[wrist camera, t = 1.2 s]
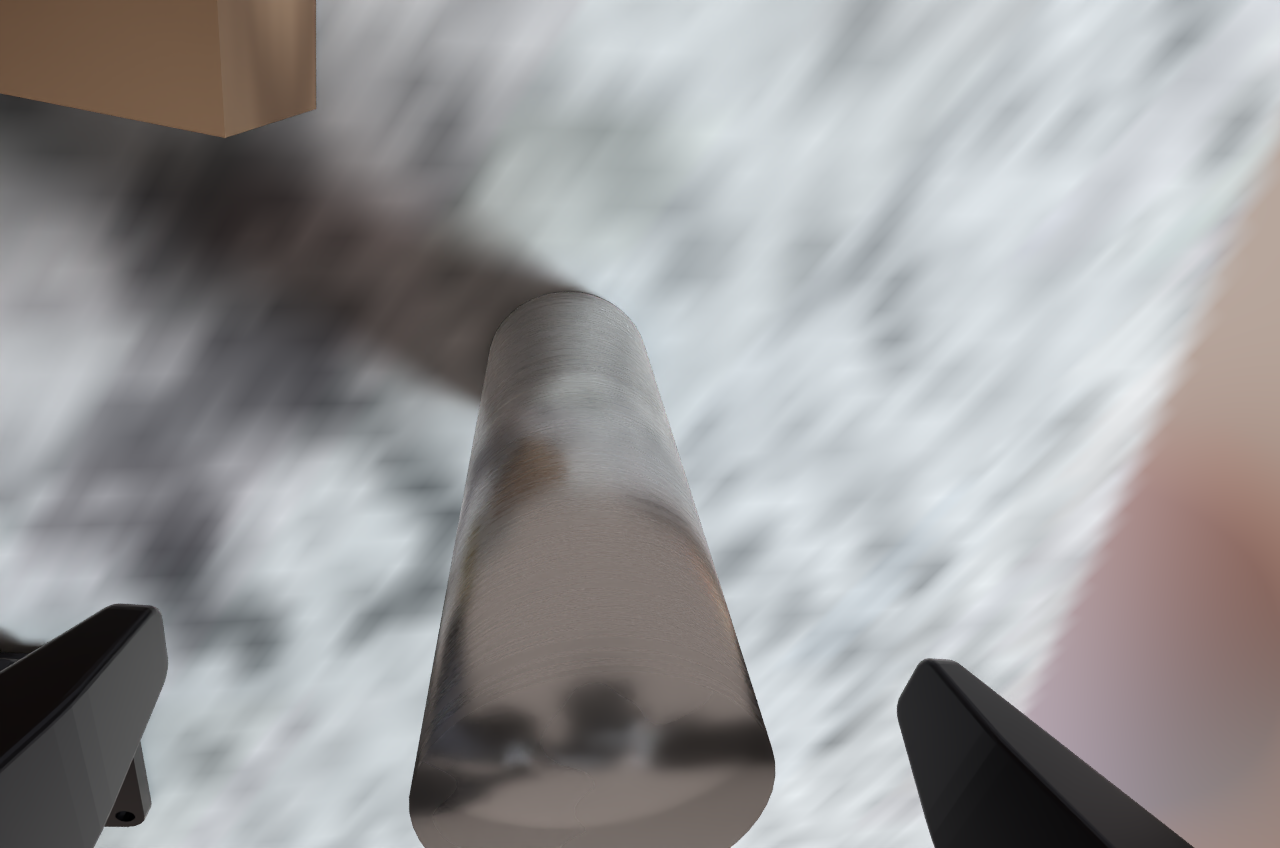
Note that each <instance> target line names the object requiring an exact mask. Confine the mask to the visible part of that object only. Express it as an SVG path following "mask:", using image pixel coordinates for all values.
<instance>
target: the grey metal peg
mask: <svg viewBox="0 0 1280 848" xmlns="http://www.w3.org/2000/svg"><path fill="white" fill-rule="evenodd" d="M774 780H775V760H774V755H773V751H772V747H771V744H770V741H769V737H768V734H767V731H766V728H765V725H764V722H763V718H762V715H761V712H760V709H759V706H758V703H757V700H756V696H755V693H754V690H753V687H752V684H751V681H750V677H749V674H748V671H747V668H746V665H745V662H744V658H743V655H742V652H741V649H740V646H739V643H738V639H737V636H736V633H735V630H734V627H733V624H732V620H731V617H730V614H729V611H728V608H727V605H726V602H725V598H724V595H723V592H722V589H721V586H720V583H719V579H718V576H717V573H716V570H715V567H714V564H713V560H712V557H711V554H710V551H709V548H708V545H707V541H706V538H705V535H704V532H703V529H702V526H701V522H700V519H699V516H698V513H697V510H696V507H695V503H694V500H693V497H692V494H691V491H690V488H689V485H688V481H687V478H686V475H685V472H684V469H683V466H682V462H681V459H680V456H679V453H678V450H677V447H676V443H675V440H674V437H673V434H672V431H671V428H670V424H669V421H668V418H667V415H666V412H665V409H664V405H663V402H662V399H661V396H660V393H659V390H658V387H657V383H656V380H655V377H654V374H653V371H652V368H651V364H650V361H649V358H648V355H647V352H646V349H645V345H644V342H643V340H642V337H641V335H640V333H639V331H638V330H637V328H636V326H635V325H634V323H633V322H632V321H631V320H630V318H629V317H628V316H627V315H626V314H625V313H624V312H622V311H621V310H620V309H619V308H617V307H616V306H615V305H613V304H611V303H610V302H608V301H606V300H604V299H602V298H599V297H596V296H594V295H590V294H586V293H580V292H556V293H549V294H546V295H542V296H539V297H536V298H534V299H532V300H529V301H528V302H526V303H524V304H523V305H521V306H519V307H518V308H517V309H516V310H514V311H513V312H512V313H511V314H510V315H509V316H508V317H507V318H506V319H505V320H504V321H503V323H502V324H501V325H500V327H499V328H498V330H497V332H496V334H495V336H494V338H493V341H492V344H491V347H490V352H489V357H488V362H487V368H486V373H485V379H484V384H483V390H482V396H481V401H480V407H479V412H478V418H477V423H476V429H475V434H474V440H473V446H472V451H471V457H470V462H469V468H468V473H467V479H466V484H465V490H464V496H463V501H462V507H461V512H460V518H459V523H458V529H457V534H456V540H455V546H454V551H453V557H452V562H451V568H450V573H449V579H448V585H447V590H446V596H445V601H444V607H443V612H442V618H441V623H440V629H439V635H438V640H437V646H436V651H435V657H434V662H433V668H432V673H431V679H430V685H429V690H428V696H427V701H426V707H425V712H424V718H423V723H422V729H421V735H420V740H419V746H418V751H417V757H416V762H415V768H414V774H413V779H412V785H411V790H410V796H409V812H410V817H411V821H412V825H413V828H414V830H415V832H416V834H417V836H418V838H419V840H420V842H421V843H422V844H423V846H424V847H425V848H730V847H731V846H733V845H734V844H735V843H736V842H737V841H738V840H740V839H741V838H742V837H743V836H744V835H745V834H746V833H747V832H748V831H749V830H750V828H751V827H752V826H753V825H754V823H755V822H756V821H757V820H758V818H759V817H760V815H761V814H762V812H763V810H764V808H765V807H766V805H767V803H768V800H769V798H770V795H771V793H772V790H773V785H774Z"/></svg>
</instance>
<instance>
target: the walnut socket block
mask: <svg viewBox="0 0 1280 848" xmlns="http://www.w3.org/2000/svg"><path fill="white" fill-rule="evenodd" d="M0 93H1V94H6V95H11V96H16V97H21V98H26V99H31V100H36V101H41V102H46V103H52V104H57V105H62V106H67V107H72V108H77V109H82V110H87V111H92V112H97V113H102V114H107V115H112V116H117V117H122V118H127V119H132V120H137V121H142V122H147V123H152V124H157V125H162V126H167V127H172V128H178V129H183V130H188V131H193V132H198V133H203V134H208V135H213V136H218V137H223V138H227V137H230V136H233V135H236V134H239V133H242V132H245V131H248V130H252V129H255V128H258V127H261V126H264V125H267V124H270V123H274V122H277V121H280V120H283V119H286V118H289V117H292V116H295V115H299V114H302V113H305V112H308V111H311V110H314V109H316V0H0Z"/></svg>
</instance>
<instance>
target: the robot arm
mask: <svg viewBox="0 0 1280 848" xmlns="http://www.w3.org/2000/svg"><path fill="white" fill-rule="evenodd" d="M167 669H168V656H167V649H166V642H165V635H164V627H163V620H162V615H161V612H160V611H159V609H158V608H156V607H153V606H148V605H133V604H113V605H110V606H108V607H106V608H104V609H102V610H100V611H99V612H97V613H96V614H94V615H92V616H91V617H89V618H87V619H86V620H84V621H82V622H81V623H79V624H77V625H76V626H74V627H73V628H71V629H69V630H68V631H66V632H64V633H63V634H61V635H59V636H58V637H56V638H55V639H53V640H51V641H50V642H48V643H46V644H45V645H43V646H41V647H40V648H38V649H37V650H35V651H33V652H32V653H30V654H21V653H3V652H0V848H94V846H95V844H96V842H97V840H98V838H99V836H100V834H101V832H102V830H103V828H104V827H130V826H136V825H139V824H141V823H142V822H143V821H144V820H145V818H146V816H147V814H148V812H149V810H150V808H151V798H150V792H149V787H148V781H147V776H146V770H145V764H144V759H143V753H142V748H141V742H140V740H141V738H142V735H143V733H144V731H145V728H146V726H147V723H148V721H149V719H150V716H151V714H152V711H153V709H154V707H155V704H156V702H157V699H158V697H159V695H160V692H161V690H162V687H163V685H164V682H165V678H166V675H167ZM897 717H898V722H899V725H900V729H901V733H902V736H903V740H904V743H905V747H906V751H907V754H908V758H909V761H910V765H911V769H912V772H913V776H914V779H915V783H916V787H917V790H918V794H919V797H920V801H921V805H922V808H923V812H924V815H925V819H926V822H927V825H928V829H929V832H930V835H931V838H932V841H933V844H934V847H935V848H1194V847H1193V846H1192V845H1190V844H1189V843H1187V842H1186V841H1185V840H1184V839H1183V838H1181V837H1180V836H1179V835H1177V834H1176V833H1175V832H1174V831H1172V830H1171V829H1169V828H1168V827H1167V826H1166V825H1165V824H1163V823H1162V822H1161V821H1159V820H1158V819H1157V818H1156V817H1154V816H1153V815H1152V814H1151V813H1149V812H1148V811H1147V810H1145V809H1144V808H1143V807H1142V806H1140V805H1139V804H1138V803H1137V802H1135V801H1134V800H1133V799H1131V798H1130V797H1129V796H1127V795H1126V794H1125V793H1124V792H1122V791H1121V790H1120V789H1119V788H1117V787H1116V786H1115V785H1113V784H1112V783H1111V782H1110V781H1108V780H1107V779H1106V778H1105V777H1103V776H1102V775H1101V774H1099V773H1098V772H1097V771H1096V770H1094V769H1093V768H1092V767H1091V766H1089V765H1088V764H1087V763H1085V762H1084V761H1083V760H1081V759H1080V758H1079V757H1078V756H1076V755H1075V754H1074V753H1073V752H1071V751H1070V750H1069V749H1068V748H1066V747H1065V746H1064V745H1062V744H1061V743H1060V742H1059V741H1057V740H1056V739H1055V738H1053V737H1052V736H1051V735H1050V734H1048V733H1047V732H1046V731H1044V730H1043V729H1042V728H1041V727H1039V726H1038V725H1037V724H1036V723H1034V722H1033V721H1032V720H1030V719H1029V718H1028V717H1027V716H1025V715H1024V714H1023V713H1021V712H1020V711H1019V710H1018V709H1016V708H1015V707H1014V706H1013V705H1011V704H1010V703H1009V702H1007V701H1006V700H1005V699H1004V698H1002V697H1001V696H1000V695H998V694H997V693H996V692H995V691H993V690H992V689H991V688H990V687H988V686H987V685H986V684H984V683H983V682H982V681H981V680H979V679H978V678H977V677H975V676H974V675H973V674H972V673H970V672H969V671H968V670H967V669H965V668H964V667H963V666H961V665H960V664H959V663H957V662H955V661H952V660H946V659H931V658H928V659H924V660H923V661H921V662H920V663H919V664H918V665H917V667H916V669H915V671H914V672H913V674H912V676H911V678H910V680H909V681H908V683H907V685H906V687H905V688H904V690H903V692H902V694H901V696H900V698H899V700H898V704H897Z"/></svg>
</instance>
